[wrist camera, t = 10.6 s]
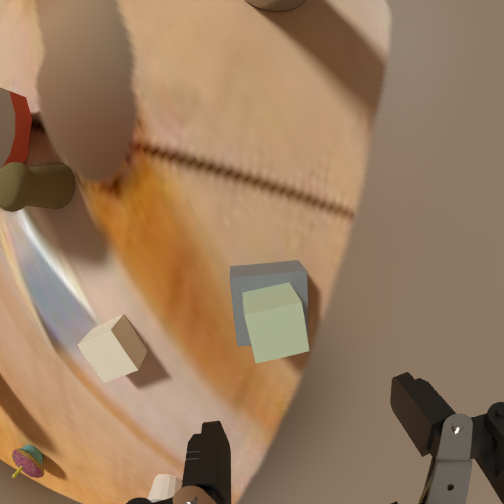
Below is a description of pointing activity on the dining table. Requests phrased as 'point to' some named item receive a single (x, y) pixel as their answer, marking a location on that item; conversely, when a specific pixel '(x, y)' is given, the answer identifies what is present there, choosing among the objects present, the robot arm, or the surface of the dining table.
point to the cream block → (113, 349)
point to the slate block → (265, 277)
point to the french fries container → (14, 128)
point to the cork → (35, 186)
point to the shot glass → (164, 487)
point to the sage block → (275, 322)
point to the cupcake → (28, 461)
